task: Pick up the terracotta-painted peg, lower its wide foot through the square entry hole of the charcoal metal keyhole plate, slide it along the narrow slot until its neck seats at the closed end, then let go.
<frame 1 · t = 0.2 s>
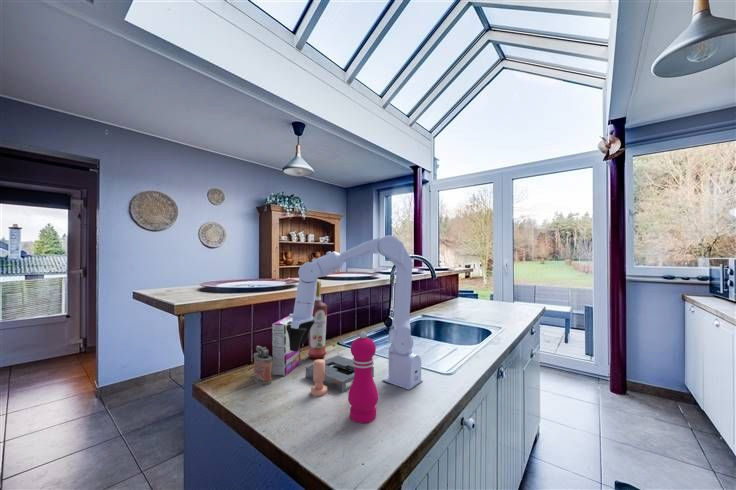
hand: (297, 346, 89), 10 cm above the worktop, tool pointing down, fingers open, 7 cm apart
pepper mill: (363, 416, 71), on the worktop
peg: (319, 392, 82), on the worktop
liquor: (317, 357, 110), on the worktop
candy bar box: (286, 369, 99), on the worktop
lighter: (262, 381, 90), on the worktop
keyhole plate: (339, 376, 93), on the worktop
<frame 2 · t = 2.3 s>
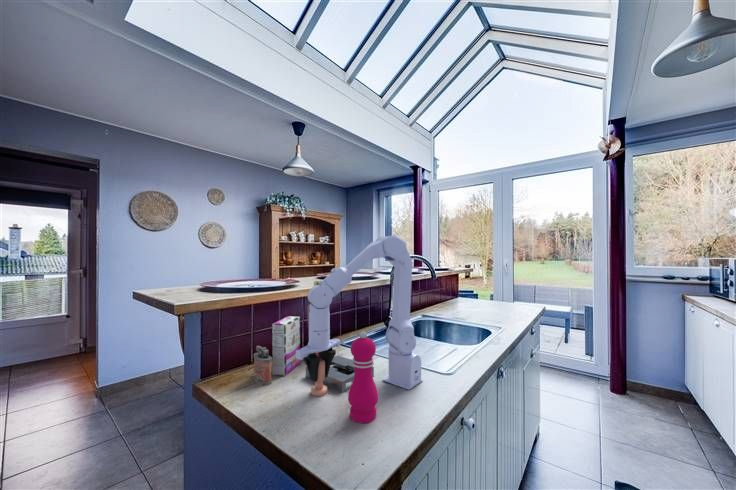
hand: (319, 378, 82), 4 cm above the worktop, tool pointing down, fingers closed on peg, 3 cm apart
peg: (319, 392, 82), on the worktop, touching gripper
everything else where it was.
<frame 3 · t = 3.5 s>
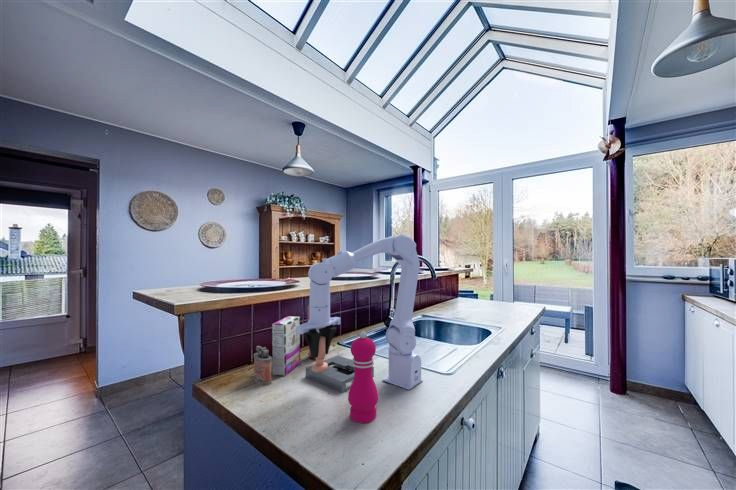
hand: (319, 354, 83), 10 cm above the worktop, tool pointing down, fingers closed on peg, 3 cm apart
peg: (319, 368, 83), point 6 cm above the worktop, touching gripper
everything else where it was.
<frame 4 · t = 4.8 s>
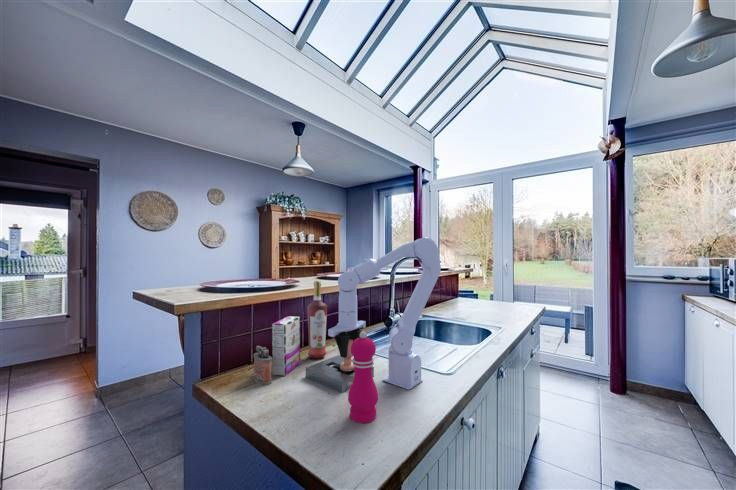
hand: (347, 355, 91), 7 cm above the worktop, tool pointing down, fingers closed on peg, 3 cm apart
peg: (347, 368, 91), point 4 cm above the worktop, touching gripper
everything else where it was.
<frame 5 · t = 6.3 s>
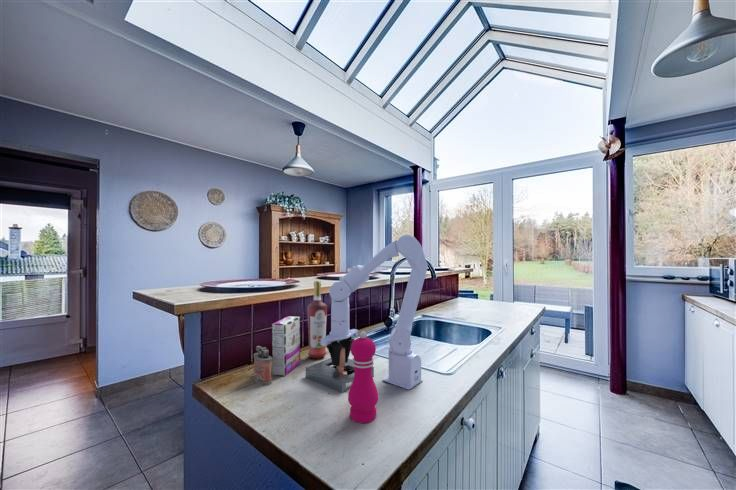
hand: (340, 363, 93), 4 cm above the worktop, tool pointing down, fingers closed on peg, 3 cm apart
peg: (340, 376, 93), on the worktop, touching gripper
everything else where it was.
when the fingers open (4 cm above the worktop, at t = 7.5 s): peg stays where it is, on the worktop.
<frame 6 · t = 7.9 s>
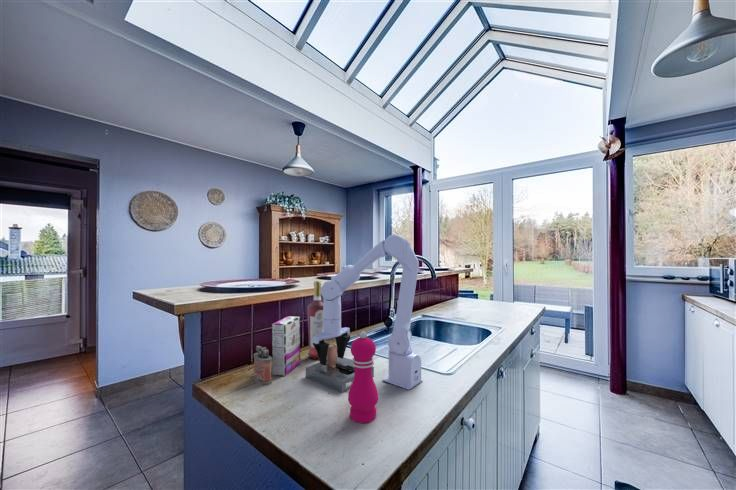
hand: (332, 360, 95), 4 cm above the worktop, tool pointing down, fingers open, 7 cm apart
peg: (331, 373, 95), on the worktop
everything else where it was.
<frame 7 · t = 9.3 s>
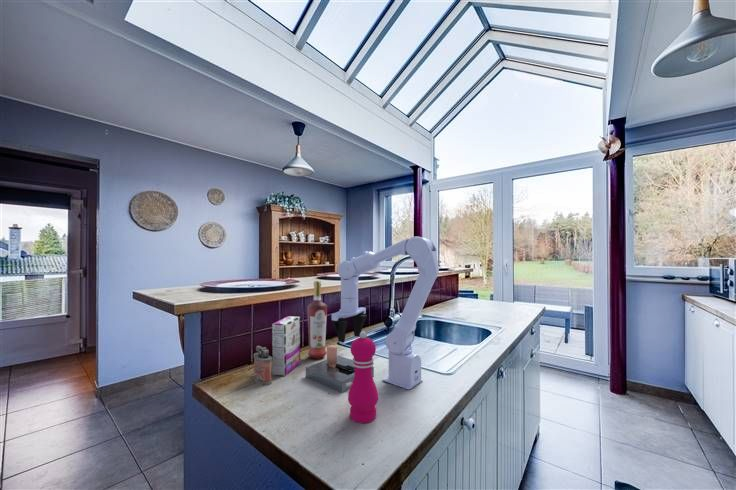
hand: (349, 338, 98), 10 cm above the worktop, tool pointing down, fingers open, 7 cm apart
nothing on the worktop moved.
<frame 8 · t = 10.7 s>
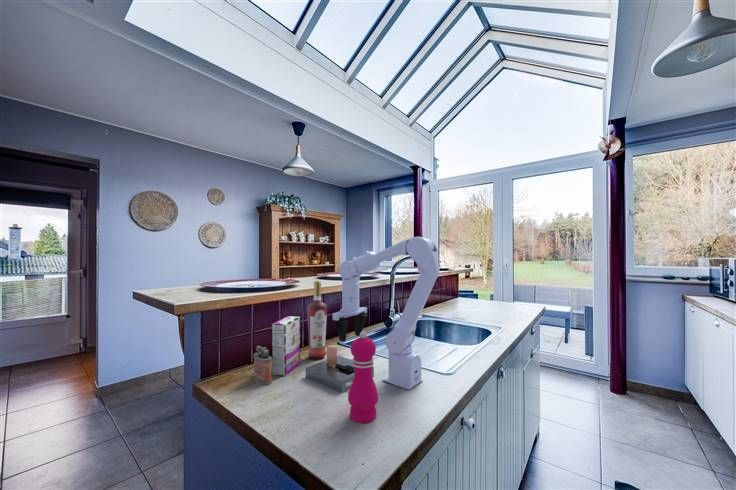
hand: (350, 338, 98), 10 cm above the worktop, tool pointing down, fingers open, 7 cm apart
nothing on the worktop moved.
at the end: peg 0.2 cm from the target spot on the keyhole plate, point 0.0 cm above the keyhole plate's base; the gripper is holding nothing; peg tilted 0° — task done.
